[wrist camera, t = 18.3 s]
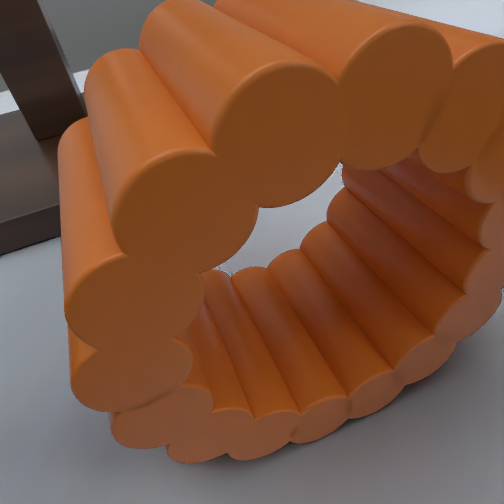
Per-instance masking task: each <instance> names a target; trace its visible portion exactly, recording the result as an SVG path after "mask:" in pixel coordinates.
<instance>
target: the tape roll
mask: <svg viewBox="0 0 504 504" xmlns="http://www.w3.org/2000/svg"><path fill="white" fill-rule="evenodd" d="M139 47H140V50H137V49H118V50H114V51H111V52H109V53H107V54H105V55H103V56H102V57H101V58H99V59H98V60H97V61H96V62H95V63H94V64H93V66H92V67H91V69H90V70H89V72H88V74H87V77H86V80H85V85H84V98H85V103H86V108H87V113H88V117H85V118H82V119H80V120H78V121H76V122H75V123H73V124H72V125H71V126H70V127H68V128H67V130H66V131H65V132H64V134H63V135H62V137H61V139H60V142H59V145H58V175H59V198H60V222H61V245H62V269H63V292H64V312H65V318H66V321H67V324H68V344H69V364H70V383H71V389H72V392H73V394H74V395H75V397H76V398H77V399H78V400H79V401H80V402H81V403H82V404H83V405H85V406H87V407H89V408H91V409H94V410H98V411H102V412H108V413H109V421H110V429H111V434H112V436H113V437H114V439H115V440H116V441H117V442H118V443H119V444H121V445H123V446H125V447H129V448H134V449H149V448H156V447H161V446H166V450H167V453H168V455H169V457H170V458H171V459H172V460H174V461H176V462H179V463H188V464H190V463H199V462H204V461H207V460H211V459H214V458H216V457H219V456H221V455H223V454H225V453H228V454H229V456H230V457H232V458H233V459H236V460H252V459H257V458H260V457H263V456H266V455H268V454H270V453H272V452H274V451H276V450H278V449H280V448H281V447H283V446H284V445H286V444H287V443H288V442H289V441H291V442H292V443H297V444H302V443H308V442H312V441H315V440H318V439H320V438H322V437H324V436H326V435H328V434H330V433H332V432H333V431H335V430H336V429H337V428H339V427H340V426H341V425H342V424H343V423H344V422H345V421H346V420H347V419H348V418H360V417H364V416H367V415H370V414H372V413H374V412H376V411H378V410H380V409H381V408H383V407H384V406H386V405H387V404H389V403H390V402H391V401H392V400H393V399H394V398H395V397H396V396H397V395H398V394H399V393H400V392H401V391H402V389H403V388H404V386H405V385H408V384H412V383H415V382H417V381H419V380H421V379H423V378H425V377H427V376H429V375H430V374H432V373H433V372H434V371H436V370H437V369H438V368H439V367H441V366H442V365H443V364H444V363H445V362H446V361H447V360H448V358H449V357H450V356H451V355H452V353H453V351H454V350H455V347H456V344H457V342H458V341H460V340H462V339H464V338H466V337H468V336H469V335H471V334H472V333H474V332H475V331H477V330H478V329H479V328H480V327H482V326H483V325H484V324H485V323H486V322H487V321H488V320H489V319H490V318H491V316H492V315H493V314H494V313H495V311H496V310H497V308H498V306H499V304H500V302H501V299H502V291H501V289H502V288H504V39H502V38H498V37H495V36H491V35H487V34H483V33H479V32H475V31H471V30H467V29H463V28H460V27H456V26H452V25H448V24H444V23H440V22H436V21H432V20H428V19H425V18H421V17H417V16H413V15H409V14H405V13H401V12H397V11H393V10H390V9H386V8H382V7H378V6H374V5H370V4H366V3H362V2H358V1H355V0H217V1H216V3H215V5H214V7H211V6H209V5H207V4H206V3H203V2H202V1H200V0H167V1H165V2H163V3H161V4H160V5H158V6H157V7H156V8H155V9H154V10H153V11H152V12H151V14H150V15H149V16H148V18H147V19H146V21H145V23H144V25H143V28H142V31H141V35H140V46H139ZM339 162H340V163H341V164H343V168H342V180H343V183H344V185H345V187H344V188H343V189H342V190H340V191H339V192H338V193H337V194H336V195H335V197H334V198H333V199H332V201H331V203H330V205H329V207H328V210H327V221H326V222H323V223H321V224H319V225H317V226H316V227H314V228H313V229H312V230H311V231H309V233H308V234H307V235H306V236H305V238H304V239H303V241H302V243H301V246H300V249H293V250H289V251H286V252H284V253H282V254H280V255H279V256H277V257H276V258H275V259H274V260H273V261H272V262H271V263H270V264H269V266H268V267H267V269H266V268H264V267H257V266H255V267H249V268H245V269H243V270H241V271H239V272H237V273H236V274H234V275H233V276H232V277H230V276H229V275H228V274H227V273H225V272H223V271H220V270H213V268H214V267H216V266H218V265H220V264H222V263H223V262H225V261H226V260H228V259H229V258H230V257H232V256H233V255H234V254H235V253H236V252H237V251H238V250H239V249H240V248H241V247H242V246H243V245H244V243H245V242H246V241H247V239H248V238H249V236H250V234H251V232H252V231H253V229H254V226H255V223H256V220H257V216H258V209H259V207H261V208H275V207H281V206H285V205H289V204H292V203H294V202H297V201H299V200H301V199H303V198H305V197H306V196H308V195H309V194H311V193H312V192H314V191H315V190H316V189H317V188H319V187H320V186H321V185H322V184H323V183H324V182H325V181H326V180H327V179H328V178H329V176H330V175H331V174H332V173H333V171H334V170H335V168H336V167H337V165H338V164H339ZM210 269H211V270H210Z"/></svg>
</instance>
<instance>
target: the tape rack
mask: <svg viewBox="0 0 504 504" xmlns="http://www.w3.org/2000/svg"><path fill="white" fill-rule="evenodd" d="M0 73H1V75H2V77H3V79H4V81H5V83H6V84H7V86H8V88H9V90H10V92H11V94H12V96H13V98H14V100H15V102H16V103H17V105H18V107H19V109H20V110H16V111H13V112H9V113H5V114H2V115H0V255H1V254H4V253H7V252H10V251H14V250H17V249H20V248H23V247H26V246H29V245H32V244H35V243H38V242H41V241H44V240H47V239H50V238H53V237H56V236H59V235H61V222H60V198H59V175H58V145H59V142H60V139H61V137H62V135H63V134H64V132H65V131H66V130H67V128H68V127H70V126H71V125H72V124H73V123H75V122H76V121H78V120H80V119H82V118H85V117H88V113H87V108H86V103H85V98H84V92H83V93H80V90H79V88H78V86H77V83H76V81H75V78H74V76H73V74H72V71H71V69H70V66H69V64H68V62H67V60H66V57H65V55H64V52H63V50H62V47H61V45H60V43H59V40H58V38H57V35H56V33H55V31H54V28H53V26H52V24H51V21H50V19H49V16H48V14H47V12H46V10H45V7H44V4H43V2H42V0H0Z"/></svg>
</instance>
